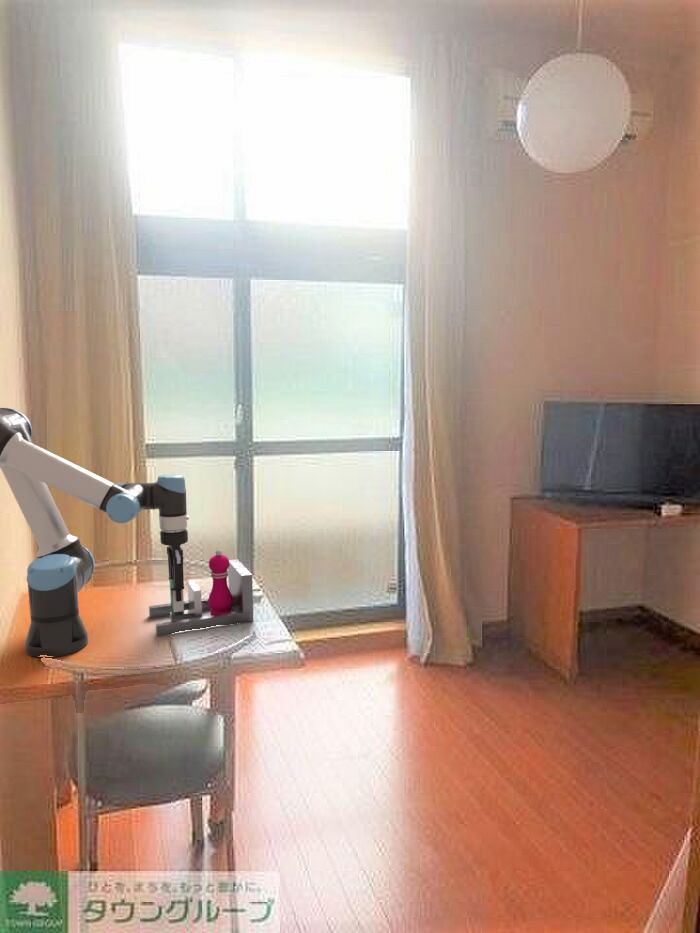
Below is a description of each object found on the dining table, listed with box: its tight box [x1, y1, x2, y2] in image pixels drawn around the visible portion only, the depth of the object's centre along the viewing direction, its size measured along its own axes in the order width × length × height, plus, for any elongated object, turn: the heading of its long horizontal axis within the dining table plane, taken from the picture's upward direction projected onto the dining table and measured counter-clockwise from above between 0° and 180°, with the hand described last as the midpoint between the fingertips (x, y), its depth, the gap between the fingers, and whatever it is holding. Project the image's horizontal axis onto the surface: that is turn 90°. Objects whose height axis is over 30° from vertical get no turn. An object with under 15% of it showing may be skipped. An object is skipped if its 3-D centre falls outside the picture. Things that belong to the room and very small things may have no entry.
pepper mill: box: [208, 549, 233, 616], centre depth 198 cm, size 7×7×20 cm
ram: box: [169, 578, 203, 622], centre depth 194 cm, size 8×10×12 cm
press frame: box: [148, 559, 254, 637], centre depth 196 cm, size 27×17×14 cm, turn 113°
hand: (177, 608), depth 194 cm, fingers closed on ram, 4 cm apart
